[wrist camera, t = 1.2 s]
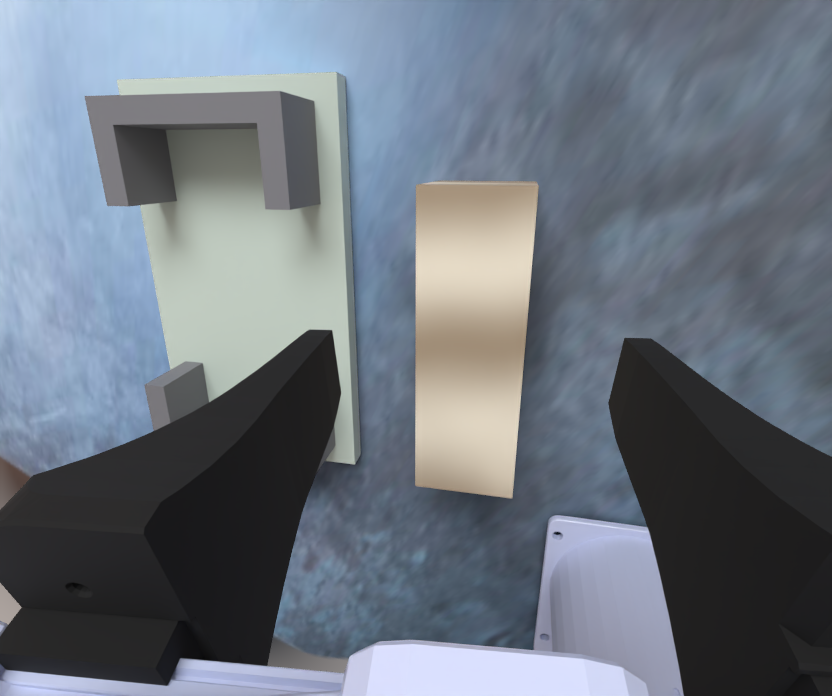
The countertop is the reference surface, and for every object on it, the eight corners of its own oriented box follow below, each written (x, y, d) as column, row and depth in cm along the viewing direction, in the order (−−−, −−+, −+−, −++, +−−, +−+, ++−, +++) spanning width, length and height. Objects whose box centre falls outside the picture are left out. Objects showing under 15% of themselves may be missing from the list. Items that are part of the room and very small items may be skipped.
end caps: (360, 454, 27) (333, 500, 23) (194, 434, 28) (145, 473, 25) (345, 76, 20) (304, 56, 17) (133, 83, 22) (55, 67, 19)
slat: (515, 436, 25) (512, 498, 20) (435, 427, 25) (415, 485, 21) (536, 181, 20) (538, 186, 16) (440, 180, 21) (416, 185, 17)
